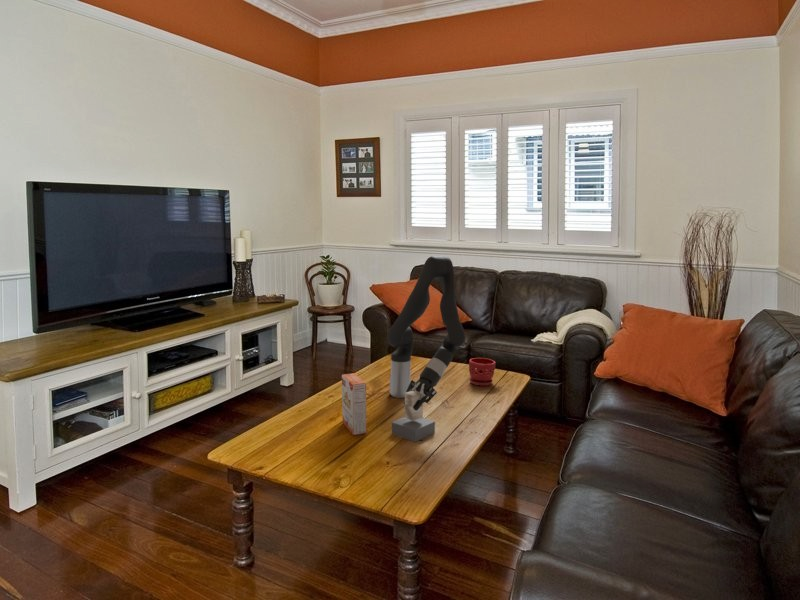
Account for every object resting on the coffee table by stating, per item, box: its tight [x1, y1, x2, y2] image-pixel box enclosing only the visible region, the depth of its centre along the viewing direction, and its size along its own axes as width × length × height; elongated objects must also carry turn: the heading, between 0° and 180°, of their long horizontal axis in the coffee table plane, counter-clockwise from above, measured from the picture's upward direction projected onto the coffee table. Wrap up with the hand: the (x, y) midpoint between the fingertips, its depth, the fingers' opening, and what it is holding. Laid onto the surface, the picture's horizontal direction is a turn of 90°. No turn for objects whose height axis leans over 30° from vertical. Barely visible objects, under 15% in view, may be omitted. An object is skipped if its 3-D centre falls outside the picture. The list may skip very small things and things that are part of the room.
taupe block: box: [404, 390, 424, 421], centre depth 213 cm, size 5×5×10 cm
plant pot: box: [468, 357, 496, 387], centre depth 276 cm, size 13×13×12 cm
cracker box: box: [341, 373, 367, 436], centre depth 217 cm, size 14×6×21 cm, turn 23°
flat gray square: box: [391, 416, 436, 443], centre depth 214 cm, size 12×12×5 cm
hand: (410, 407), depth 212 cm, fingers closed on taupe block, 5 cm apart
